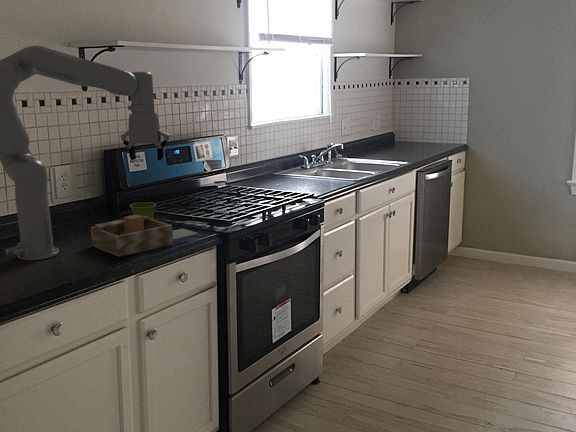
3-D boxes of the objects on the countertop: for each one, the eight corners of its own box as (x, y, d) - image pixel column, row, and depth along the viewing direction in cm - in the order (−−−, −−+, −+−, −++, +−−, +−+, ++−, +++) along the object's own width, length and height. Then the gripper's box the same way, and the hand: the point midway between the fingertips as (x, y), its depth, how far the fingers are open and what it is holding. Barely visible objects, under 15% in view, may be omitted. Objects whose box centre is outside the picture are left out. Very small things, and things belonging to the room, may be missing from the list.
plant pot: (146, 223, 247) (144, 200, 245) (162, 226, 241) (161, 203, 239) (126, 228, 240) (124, 205, 238) (142, 232, 234) (140, 208, 232)
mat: (174, 240, 222) (174, 238, 222) (158, 234, 230) (158, 233, 229) (198, 234, 229) (198, 233, 229) (182, 229, 236) (182, 228, 236)
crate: (119, 256, 204) (117, 234, 203) (92, 246, 217) (90, 224, 216) (173, 244, 217) (171, 222, 216) (145, 234, 230) (143, 214, 229)
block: (132, 237, 212) (130, 219, 211) (125, 234, 215) (124, 216, 214) (144, 234, 215) (143, 216, 213) (137, 232, 218) (136, 214, 217)
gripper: (114, 110, 217) (118, 161, 221) (164, 109, 215) (167, 161, 219) (123, 108, 225) (127, 158, 229) (171, 108, 222) (174, 158, 226)
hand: (146, 159), depth 224 cm, fingers open, 9 cm apart
